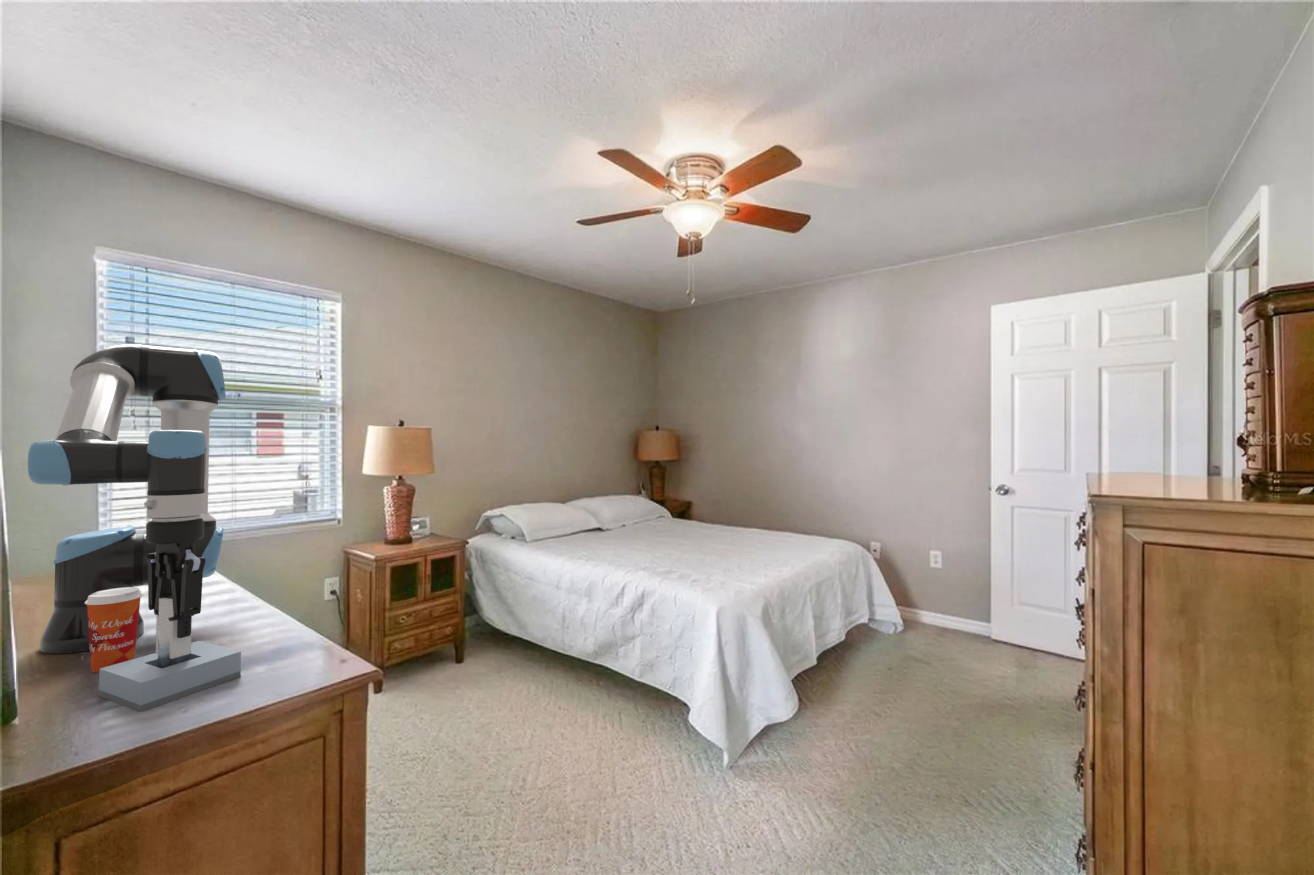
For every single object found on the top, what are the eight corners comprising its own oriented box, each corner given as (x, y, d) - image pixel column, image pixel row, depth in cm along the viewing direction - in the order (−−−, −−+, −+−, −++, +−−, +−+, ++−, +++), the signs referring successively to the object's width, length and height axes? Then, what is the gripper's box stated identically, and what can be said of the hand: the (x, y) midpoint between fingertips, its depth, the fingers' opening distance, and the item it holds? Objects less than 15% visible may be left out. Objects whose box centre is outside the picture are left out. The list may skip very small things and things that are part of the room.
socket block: (98, 695, 88) (99, 668, 88) (199, 664, 101) (199, 640, 101) (140, 711, 83) (141, 682, 83) (240, 676, 96) (241, 651, 96)
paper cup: (74, 678, 95) (76, 599, 95) (94, 662, 102) (96, 589, 102) (133, 670, 98) (134, 594, 99) (149, 655, 105) (150, 584, 105)
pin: (151, 680, 91) (153, 598, 91) (180, 670, 95) (182, 592, 95) (164, 684, 89) (166, 600, 90) (193, 674, 93) (195, 594, 93)
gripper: (122, 518, 92) (119, 653, 92) (176, 524, 86) (173, 670, 85) (175, 513, 99) (173, 639, 99) (229, 518, 93) (226, 653, 92)
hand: (173, 653), depth 92 cm, fingers closed on pin, 4 cm apart
